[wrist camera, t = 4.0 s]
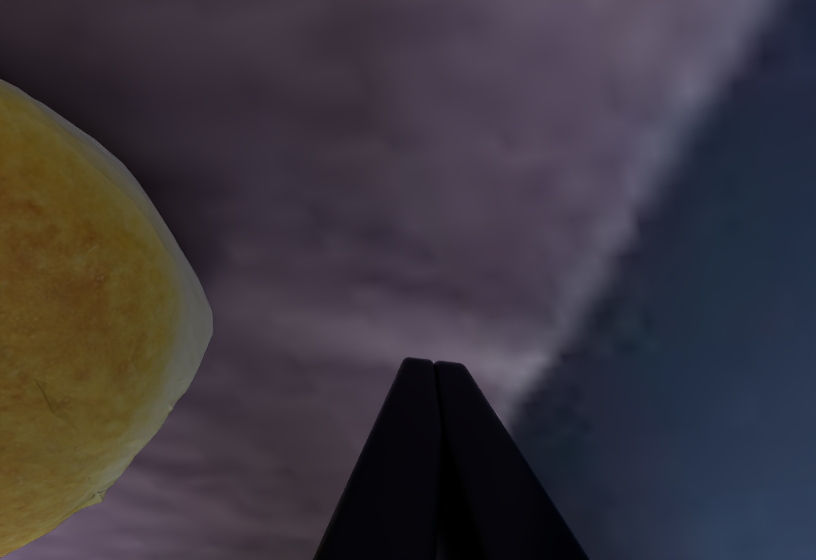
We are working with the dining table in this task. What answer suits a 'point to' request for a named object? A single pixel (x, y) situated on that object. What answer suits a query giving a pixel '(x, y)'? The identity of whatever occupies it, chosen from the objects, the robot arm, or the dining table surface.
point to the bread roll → (81, 319)
